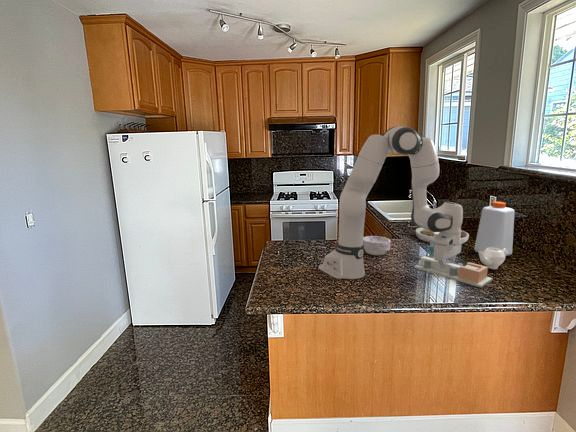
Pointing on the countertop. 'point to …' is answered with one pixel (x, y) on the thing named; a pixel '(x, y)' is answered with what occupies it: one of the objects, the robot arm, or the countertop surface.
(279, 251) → the countertop surface
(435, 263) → the white long bar
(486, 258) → the teapot
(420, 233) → the bowl
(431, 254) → the pill bottle
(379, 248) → the paper bowls
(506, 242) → the plastic bottle
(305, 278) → the countertop surface
